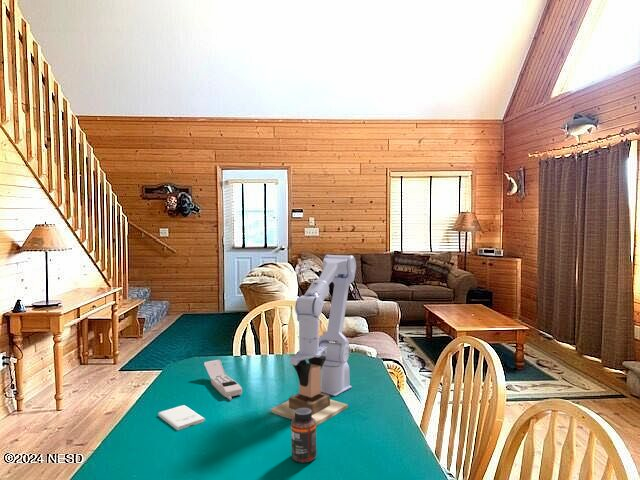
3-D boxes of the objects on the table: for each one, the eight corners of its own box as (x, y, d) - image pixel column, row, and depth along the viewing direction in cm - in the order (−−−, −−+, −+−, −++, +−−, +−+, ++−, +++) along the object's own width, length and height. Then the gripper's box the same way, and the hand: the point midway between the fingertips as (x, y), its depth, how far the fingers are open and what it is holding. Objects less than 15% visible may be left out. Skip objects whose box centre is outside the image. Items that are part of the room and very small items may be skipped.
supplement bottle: (316, 450, 118) (315, 405, 117) (317, 463, 112) (316, 415, 111) (291, 451, 118) (291, 405, 117) (291, 464, 112) (290, 416, 111)
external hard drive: (184, 409, 144) (205, 423, 135) (158, 417, 138) (177, 432, 129) (184, 404, 144) (205, 417, 134) (158, 412, 138) (177, 426, 129)
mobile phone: (219, 358, 172) (245, 379, 151) (220, 375, 173) (246, 398, 151) (202, 361, 169) (226, 383, 148) (203, 378, 170) (227, 402, 148)
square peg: (309, 389, 144) (308, 363, 144) (320, 392, 141) (320, 365, 141) (299, 393, 141) (298, 366, 140) (311, 397, 138) (310, 370, 137)
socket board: (306, 395, 153) (306, 382, 152) (347, 407, 143) (347, 394, 143) (270, 412, 140) (270, 398, 140) (313, 427, 130) (313, 412, 130)
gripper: (303, 345, 132) (303, 393, 133) (335, 334, 143) (335, 378, 144) (284, 340, 136) (284, 387, 137) (316, 330, 148) (316, 374, 149)
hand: (309, 383), depth 141 cm, fingers closed on square peg, 4 cm apart
